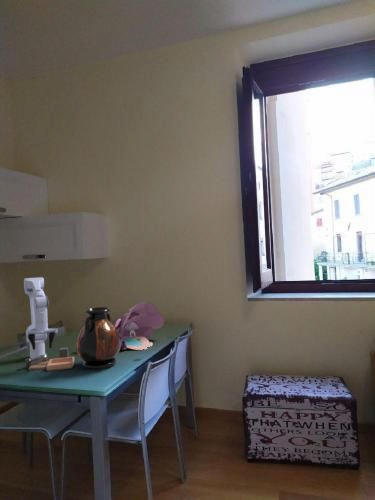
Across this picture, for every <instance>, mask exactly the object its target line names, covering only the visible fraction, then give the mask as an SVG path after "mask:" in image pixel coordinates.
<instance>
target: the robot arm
mask: <svg viewBox="0 0 375 500" xmlns="http://www.w3.org/2000/svg"><path fill="white" fill-rule="evenodd" d="M44 287H45V279H44V277H43V276H41V277H28V278H26V277H25V278H24V279H23V289H24V293H25V295H28V298H29V306H30V307H29V309H30V319H31V322H30V323H31V324H29V326H27V328H26V329H25V330H26V331H25V336H26V342H27V343H29V358H31V359H33V358H36V357H39V356H40V355H47V353H46V344H45V341H46V340H47V338H48V340H49V344H48V345H49V346H48V347H49V349H52V347H53V342H54V338H55V336H56V334H58V328H49V325H48V324H49V323H48V321H49V320H48V308H49V299H48V298H49V297H48V296H47V295H46V294H45V291H44ZM47 356H48V355H47Z"/></svg>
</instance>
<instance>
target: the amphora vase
mask: <svg viewBox="0 0 375 500" xmlns="http://www.w3.org/2000/svg"><path fill="white" fill-rule="evenodd" d="M111 311H112V310H111V308H110V307H106V306H103V307H102V306H100V307H99V306H98V307H91V308H87V309H85V310H84V313H85V314H87V316H88V317H86V318H85V321H84V326H83V327H82V329H81V330H80V332H79V333H78V335H77V340H76V353H77V355H78V356H79V358H80V359H81V360H82V361H83V362H82V367H83V368H84V369H86V370H92V371H94V370H95V371H97V370H98V371H99V370H105V369H108V368H111V367H113V366H115V365H116V363H117V358H116V356H117V355H118V354H119V353H120V350H121V349H120V347H121V340H120V336H119V333H118V331H117V329H116V328H115V324H113V323H112V322H111V314H110V313H109V312H111Z"/></svg>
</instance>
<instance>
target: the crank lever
mask: <svg viewBox="0 0 375 500" xmlns="http://www.w3.org/2000/svg"><path fill="white" fill-rule="evenodd" d="M47 360H48V355H40V356H39V357H36V358H33V359H31V358H30V357H29V358H28V357H27V358H25V359H24V362H25V367H30V366H31V365H33V364H36V363H39V362H44V361H47Z"/></svg>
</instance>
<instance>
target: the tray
mask: <svg viewBox="0 0 375 500" xmlns="http://www.w3.org/2000/svg"><path fill="white" fill-rule="evenodd" d="M49 360H50V361H49V363H48V364H47V366H46V369H45V370H46V372H51V371H60V370H70V369H71V370H72V369H73V367H74V364H75V356H69V357H66V358H60V357H56V358H50V359H49Z"/></svg>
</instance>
